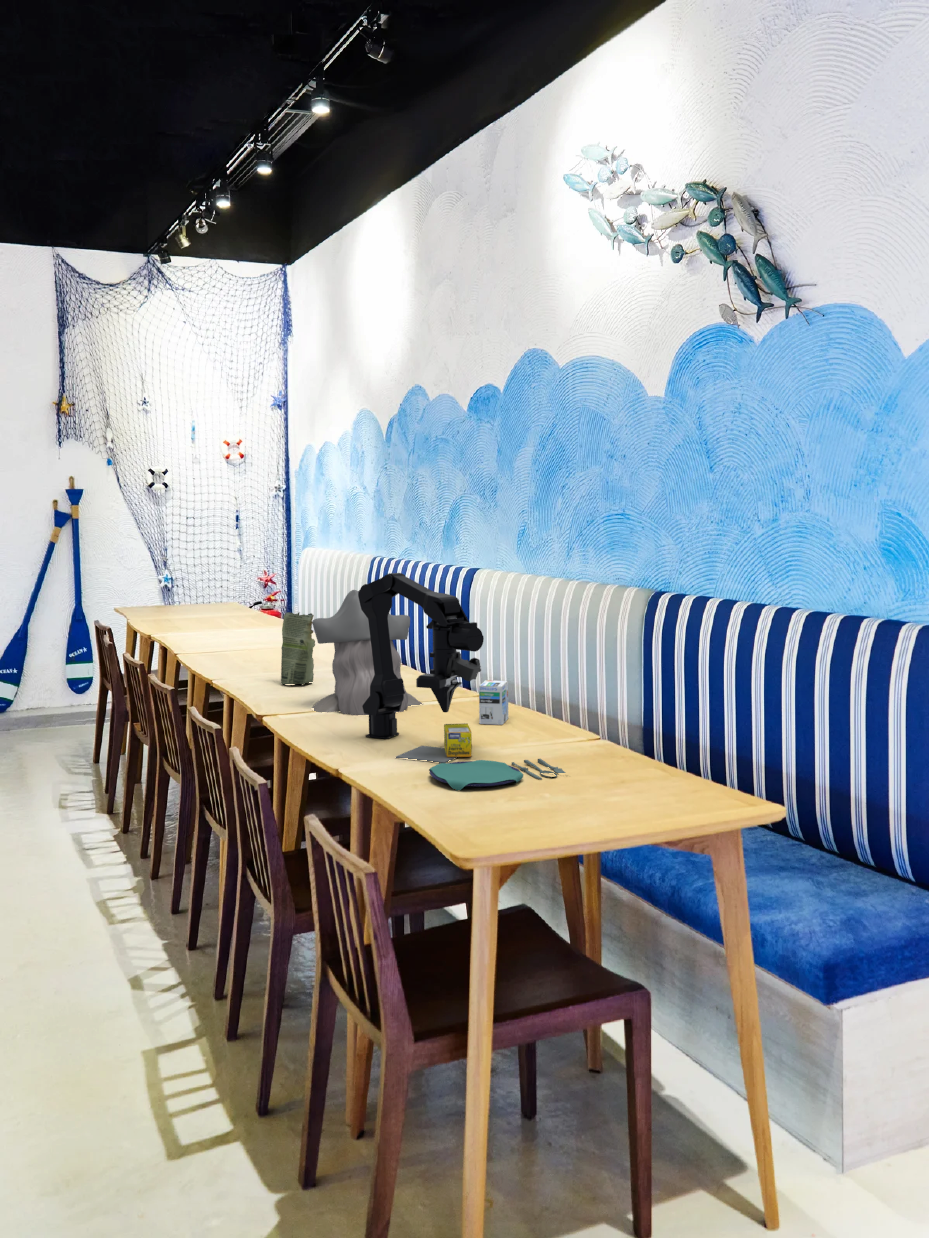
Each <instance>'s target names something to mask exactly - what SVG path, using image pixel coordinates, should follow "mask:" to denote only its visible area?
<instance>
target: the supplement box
mask: <svg viewBox="0 0 929 1238" xmlns="http://www.w3.org/2000/svg"><path fill="white" fill-rule="evenodd" d="M443 731H444V732H443V734H444V735H443V738H444V740H443V744H444V746H443V748H445V752H446V755H447V757H458V758H469V757H472V739H473V738H472V736H473V735H472V734H473V733H472V730H471V727H470V725H469V724H468V723H465V722H464V723H445V724H444V725H443Z"/></svg>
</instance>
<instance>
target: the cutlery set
mask: <svg viewBox="0 0 929 1238" xmlns="http://www.w3.org/2000/svg"><path fill="white" fill-rule="evenodd" d="M523 763H524V764H527V765H528V766H531V767H533V768H534V769H535V770H537V771H539V774H540V776H539V775H537V774H535V773H534V772H532V771H530V770H529V768H528V767H526V766H521V765H518V764H517V763H515V761H512V762H511V765H510V764H507V763H505V762H503V761H502V762H501V761H496V760H495V761H494V760H486V759H477V760H467V761H465V760H464V761H454V762H447V763H436V764H435V765H433V766H432V767H430V768H429V769H428V771H429V775H430V777H432V779H434V780H437V781H439V782H441V783H444V784H448V785H449V786H450V787H451V788H452V789H453V790H454V789H456V790H455V791H458V790H460V791H461V790H462V789H464V787H494V786H499V785H500V786H501V785H506V784H510V783H513V784H517V783H518V782H520V781H521V780H523V778H524V774H523V773H526V774H528V775H529V776H530V777H532V778H534V779H536V780H541V781H542V780H543V778H542V777H544V778H548V777H551V778H550V779H553V778H552V777H553V776H549V775H545V774H549V773H554V772H556V773H566V771H564V770H563V768H559V767H558V766H552V765H550V764H549V763H548V762H546V761H545V760H544V759H542V758H537V763H538V764H541V765H542V766H544V767H546V768H547V767H549V768H550V770H553V771H550V770H543V769H541V768H540V767H539V766H538V765H536V764H535V763H533V762H532V761H530V760H529V759H524V760H523ZM514 766H516V767H517V768H516V767H514ZM518 768H519V769H520V770H519V769H518ZM549 768H548V769H549ZM522 771H523V772H522ZM541 773H543V774H541ZM556 773H554V774H555V775H556V776H554V778H557V776H558V774H556ZM541 776H542V777H541Z"/></svg>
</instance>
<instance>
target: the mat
mask: <svg viewBox="0 0 929 1238" xmlns="http://www.w3.org/2000/svg"><path fill="white" fill-rule="evenodd" d="M395 757H396V758H395V759H397V758H408V759H417V760H427V761H433V762H439V763H438V764H441V763H446V762H447V763H449V762H450V761H449V760H451V761H453V759H454V758H456V757H447V755H446V752H445V748H444V747H439V746H429V745H420V746H418V747H415V748H413V749H410V750H408V751H405V752H403V753H401V754H398V755H396V756H395ZM456 759H457V758H456ZM454 760H455V759H454ZM448 761H449V762H448ZM433 762H432V763H433Z"/></svg>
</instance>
